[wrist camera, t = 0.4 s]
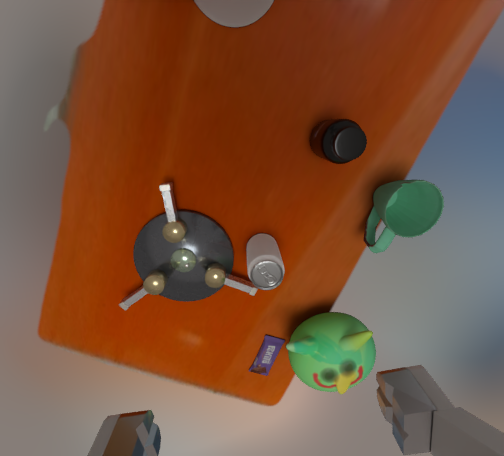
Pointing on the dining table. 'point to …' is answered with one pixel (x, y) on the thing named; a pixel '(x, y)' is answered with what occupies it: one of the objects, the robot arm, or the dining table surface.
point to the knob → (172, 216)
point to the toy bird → (332, 351)
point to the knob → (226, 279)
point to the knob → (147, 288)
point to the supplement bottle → (338, 140)
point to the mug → (403, 211)
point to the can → (264, 262)
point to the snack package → (266, 355)
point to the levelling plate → (184, 255)
